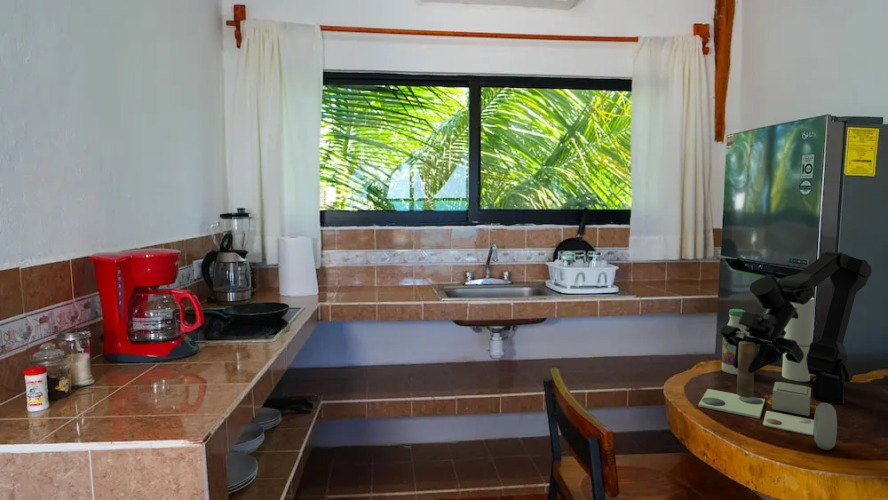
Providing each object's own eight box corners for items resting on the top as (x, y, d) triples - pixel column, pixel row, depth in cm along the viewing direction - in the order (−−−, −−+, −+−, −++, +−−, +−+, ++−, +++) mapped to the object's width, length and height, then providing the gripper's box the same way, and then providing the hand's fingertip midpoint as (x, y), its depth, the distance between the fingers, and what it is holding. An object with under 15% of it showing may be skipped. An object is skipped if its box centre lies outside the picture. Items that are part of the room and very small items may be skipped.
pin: (753, 394, 128) (756, 342, 127) (752, 398, 125) (754, 345, 124) (737, 391, 130) (739, 340, 129) (735, 395, 127) (737, 343, 126)
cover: (809, 406, 138) (811, 386, 137) (809, 416, 131) (810, 395, 131) (774, 399, 142) (775, 380, 142) (771, 408, 136) (772, 388, 135)
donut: (836, 459, 109) (839, 413, 108) (816, 455, 111) (819, 410, 110) (830, 440, 118) (833, 398, 117) (812, 437, 119) (814, 395, 118)
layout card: (813, 421, 128) (814, 419, 128) (813, 435, 120) (813, 434, 120) (766, 411, 134) (766, 410, 134) (762, 425, 126) (762, 423, 126)
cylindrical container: (807, 375, 162) (811, 296, 160) (812, 382, 155) (816, 300, 153) (780, 372, 165) (784, 294, 163) (784, 379, 158) (788, 298, 156)
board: (764, 401, 141) (764, 398, 141) (759, 418, 130) (759, 415, 130) (707, 390, 149) (707, 388, 149) (698, 406, 138) (698, 403, 138)
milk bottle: (742, 368, 170) (744, 307, 168) (753, 375, 162) (756, 312, 160) (717, 367, 170) (719, 307, 169) (727, 375, 163) (730, 312, 161)
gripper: (725, 294, 136) (693, 340, 132) (798, 306, 119) (764, 360, 115) (744, 320, 140) (714, 366, 136) (818, 336, 123) (785, 389, 119)
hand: (742, 369), depth 127 cm, fingers closed on pin, 3 cm apart
